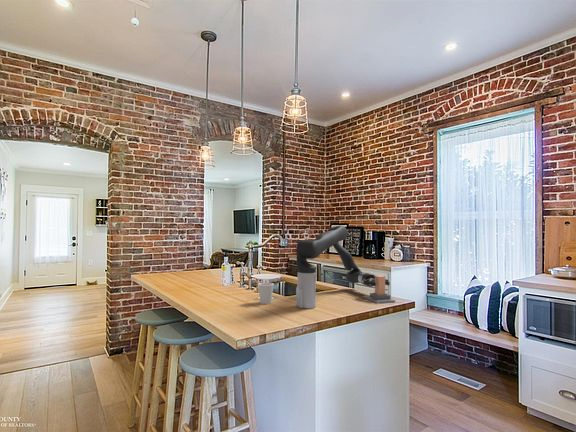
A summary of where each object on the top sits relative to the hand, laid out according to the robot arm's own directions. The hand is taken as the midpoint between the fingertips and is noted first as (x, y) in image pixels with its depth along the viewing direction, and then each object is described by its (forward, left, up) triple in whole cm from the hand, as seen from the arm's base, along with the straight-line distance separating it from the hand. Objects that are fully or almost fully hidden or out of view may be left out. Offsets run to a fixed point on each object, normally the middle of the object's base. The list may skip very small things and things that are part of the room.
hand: (382, 283), depth 183 cm
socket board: (-1, +2, -9) cm, 9 cm away
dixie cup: (-63, +10, -9) cm, 65 cm away
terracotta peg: (0, +2, -8) cm, 8 cm away
